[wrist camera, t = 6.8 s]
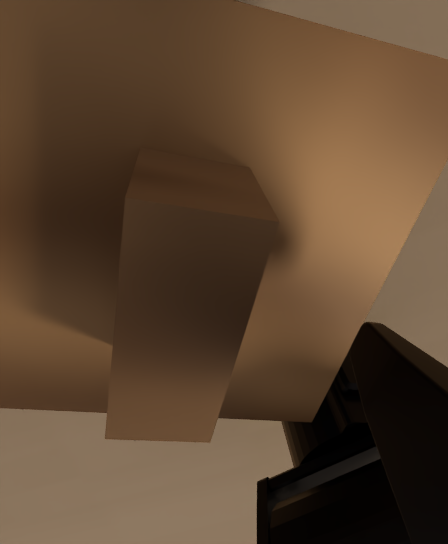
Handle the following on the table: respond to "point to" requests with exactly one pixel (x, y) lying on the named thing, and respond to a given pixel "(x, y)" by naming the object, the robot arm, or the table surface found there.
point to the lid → (199, 205)
